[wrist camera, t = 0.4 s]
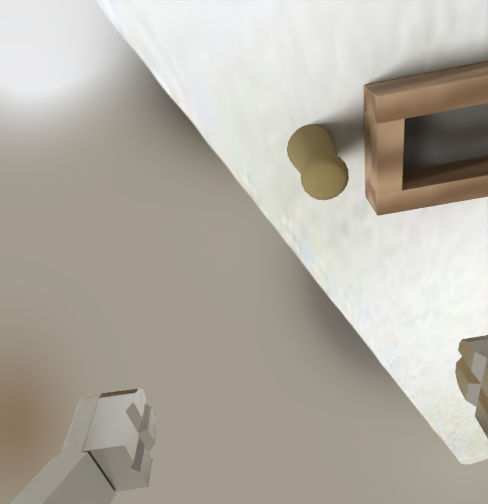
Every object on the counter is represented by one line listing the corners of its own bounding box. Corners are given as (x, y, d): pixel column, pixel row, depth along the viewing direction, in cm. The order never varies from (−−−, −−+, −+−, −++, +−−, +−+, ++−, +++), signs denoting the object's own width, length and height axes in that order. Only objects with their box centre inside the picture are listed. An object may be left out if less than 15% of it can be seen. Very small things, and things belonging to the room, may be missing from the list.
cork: (296, 118, 52) (311, 150, 42) (341, 131, 53) (365, 164, 44) (280, 163, 55) (291, 201, 46) (323, 174, 56) (342, 213, 47)
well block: (363, 85, 50) (377, 96, 45) (536, 51, 48) (568, 59, 44) (365, 196, 58) (377, 215, 53) (512, 170, 57) (537, 187, 52)
